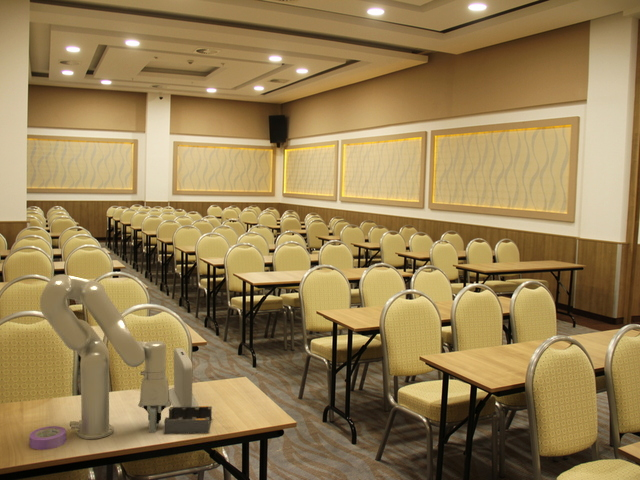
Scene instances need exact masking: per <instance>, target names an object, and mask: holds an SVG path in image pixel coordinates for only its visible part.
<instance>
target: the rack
mask: <svg viewBox="0 0 640 480" xmlns="http://www.w3.org/2000/svg"><path fill="white" fill-rule="evenodd" d="M168 408H169V409H168V417H164V420H163V421H164V425H163V426H164V428H163V429H164V431H163V432H164V435H165V434H166V435H174V434H177V435H178V434H185V435H186V434H209V432H210V428H211V423H212V420H213V419H212V418H213V417H212V416H213V415H212V414H213V412H212V411H213V406H209V405H199V407H173V406H170V407H168Z"/></svg>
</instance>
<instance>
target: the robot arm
mask: <svg viewBox="0 0 640 480" xmlns="http://www.w3.org/2000/svg"><path fill="white" fill-rule="evenodd" d="M68 299H69V300H74V301H78V302H81V303H82V304H83V307H84V308H85V309H86V310H87V311H88V313H89V314H90V315H91V317H92V318H93V319H94V321H95V322H96V323H97V325H98V326H99V328H100V329H101V331H102V333H103V334H104V335H105V336H104V337H106V339H108V341H109V342H110V344H111V346H112V347H113V349H114V350H115V352H116V353H117V354H118V356H119V357H120V359H121V360H122V361H123V363H124V364H126V365H127V366H128V367H130V368H137V367H139V366H141V365H143V363H144V370H143V371H140V376H143V378H142V379H141V383H140V397H139V403H138V404H137V405H138V407H139V408H143V409H144V410H145V411H146V412H147V415H148V422H149V411H150V409H151V407H152V406H158V411H157V424H158V423H160V422H159V420H160V421H161V420H162V413H163V410H165V409H167V408H170V407H172V403H171V400H170V398H169V389H170V388H169V387H170V386H169V379H168V376H166V356H167V354H166V351H167V350H166V343H165V342H164V341H162V340H152V341H143V340H136V339H135V337H134V336H133V334H132V333H131V332H130V329H129V328H128V325H127V323H126V320H125V319H124V316H123V315H122V313H121V312H120V311H119V309H118V308H117V307H116V305H115V304H114V302H113V301H112V299H111V298H110V297H109V295H108V293H107V292H106V289H105V287H104V285H103V284H102V283H101V282H99V281H97V280H92V279H87V278H82V277H77V276H74V275H68V274H56V275H54V276H53V277H51V278H50V280H49V281H48V282H47V284H45V287H44V289H43V290H42V293H41V295H40V299H39V309H40V311H41V314H42V316H43V317H44V318H45V320H46V321H47V322H48V325H50V326H51V327H52V329H53V330H54V332H55V333H56V335H57V336H58V337H59V338H60V339H61V342H62V343H63V344H64V345H65V346H66V348H67V349H69V350H72V351H75V352H76V353H77V354H78V355H79V357H80V363H79V364H80V367H79V368H80V393H81V394H80V396H81V397H80V398H81V399H80V401H81V403H80V404H81V405H80V406H81V408H80V409H81V410H80V413H81V418H80V419H81V420H79V421H75V420H73V421H71V420H70V421H69V427H70V428H71V430H72V429H77V431H76V435H77V437H78V438H80V439H84V440H96V439H103V438H105V437H108V436H110V435H112V434H113V432H114V426H113V425H112V424H110V351H109V349H108V346H107V345H106V344H105V342H104V341H103V339H102V338H101V337H100V335H99V334H98V333H97V332H96V330H95V329H94V328H93V327H92V325H90V324H89V322H87V321H86V320H83V319H81V318H80V319H79V318H78V317H77V315H76V314H75V313H74V311H73V310H72V309H71V308H70V306H69V305H68V302H67V301H68ZM158 425H159V424H158Z"/></svg>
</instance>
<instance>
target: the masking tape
mask: <svg viewBox="0 0 640 480" xmlns="http://www.w3.org/2000/svg"><path fill="white" fill-rule="evenodd" d="M28 439H29V447H30V448H31V449H34V450H41V451H42V450H43V451H44V450H45V451H46V450H51V449H55V448H56V449H57V448H58V447H61V446H63V445H64V444H65V443H66V442H67V429H66V428H65V427H63V426H58V425H56V426H55V425H53V426H43V427H40V428H36V429H35V430H33V431H31V432H30V433H29V438H28Z"/></svg>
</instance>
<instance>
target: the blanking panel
mask: <svg viewBox="0 0 640 480" xmlns="http://www.w3.org/2000/svg"><path fill="white" fill-rule="evenodd" d="M157 411H158V406H152V407H151V409H150V411H149V421H148V432H149V433H156V430H157V429H158V425H159V423H160V422H161V420H159V423H158V424H157Z"/></svg>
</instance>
